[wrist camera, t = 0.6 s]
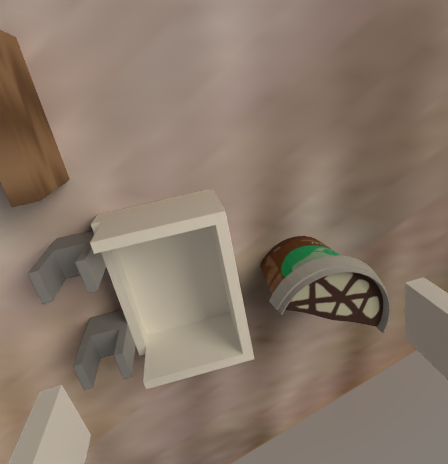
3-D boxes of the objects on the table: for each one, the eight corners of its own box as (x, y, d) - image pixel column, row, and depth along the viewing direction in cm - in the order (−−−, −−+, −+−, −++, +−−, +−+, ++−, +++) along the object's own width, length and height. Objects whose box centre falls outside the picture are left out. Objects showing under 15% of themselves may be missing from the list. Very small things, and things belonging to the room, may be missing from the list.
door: (-9, 41, 26) (-77, 15, 19) (16, 37, 26) (-42, 9, 19) (48, 183, 31) (12, 207, 23) (69, 179, 31) (40, 200, 24)
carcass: (50, 225, 32) (16, 259, 25) (212, 188, 34) (225, 210, 26) (103, 348, 38) (88, 405, 31) (237, 312, 40) (254, 358, 32)
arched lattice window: (358, 239, 39) (418, 280, 30) (337, 283, 41) (388, 334, 32) (266, 215, 36) (302, 251, 26) (248, 263, 38) (275, 314, 28)
